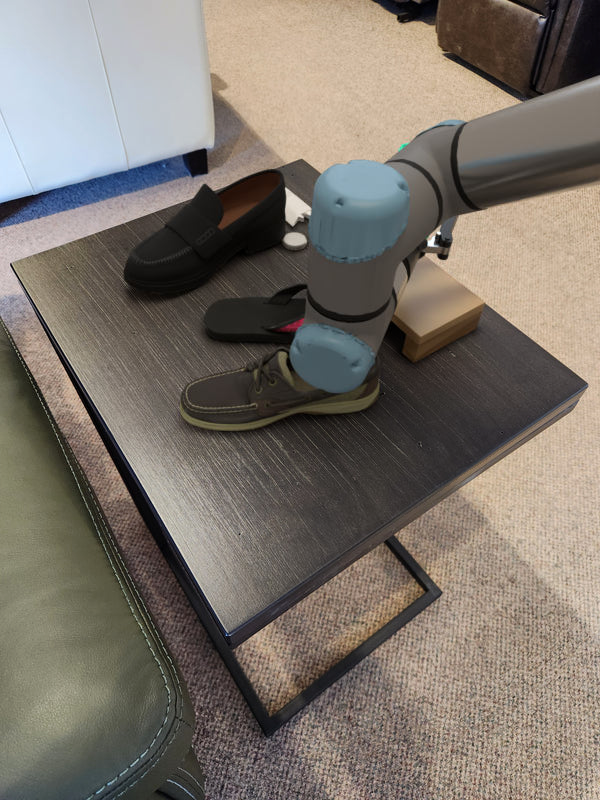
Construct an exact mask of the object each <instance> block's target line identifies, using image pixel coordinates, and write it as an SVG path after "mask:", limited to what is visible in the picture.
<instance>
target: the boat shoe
mask: <svg viewBox="0 0 600 800" xmlns="http://www.w3.org/2000/svg"><path fill="white" fill-rule="evenodd" d="M380 362H381V361H380V358H379V356H378V354H377V355H376V357H375V363H374V365H373V366H372V367H371V368H370V370H369V372H368V373H367V375H366V377H365V379H364V381H363V382H362V384H361V385H360V386H359V387H357V388H356V389H354V390H352V391H349V392H346V393H330V392H327V391H325V390H323V389H317V388H315V387H313V386H311V385H310V384H308V383H307V382H305V381H304V380H303V379H302V378H301V377H300V376H299V375H298V374H297V373H296V371H295V370H294V368H293V366H292V364H291V361H290V349H287V348H286V347H285V346H279V347H277V348H275V349H274V350H272V351H271V352H268V353H267V352H266V353H264V354H263V356H262V357H260V358H257V359H255V360H253V361H250V362H248V363H246V364H245V365H243V366H242V367H239V368H235V369H231V370H225V371H221V372H217V373H212V374H208V375H206V376H202V377H199V378H196V379H193V380H191V381H190V382H189V383H187V384H186V385H185V386H184V388H183V389H182V391H181V394H180V400H179V411H180V415H181V417H182V418H183V420H184V421H185V422H187V423H188V424H190V425H191V426H194V427H197V428H201V429H205V430H210V431H219V432H242V431H252V430H256V429H260V428H263V427H266V426H269V425H271V424H273V423H275V422H277V421H280V420H282V419H286V418H287V417H290V416H292V415H295V414H302V413H303V414H308V415H340V414H350V413H356V412H360V411H363V410H367V409H368V408H370V407H371V406H372V405H374V404H375V403H376V401H377V400H378V398H379V395H380V374H381V373H380V372H381V367H382V366H381V363H380Z"/></svg>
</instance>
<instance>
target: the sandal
mask: <svg viewBox="0 0 600 800" xmlns="http://www.w3.org/2000/svg"><path fill="white" fill-rule="evenodd" d="M307 286H308V283H305V282H304V283H303V282H302V283H301V282H300V283H296V284H293V285H290V286H287V287H284V288H281V289H279V290H278V291H276V292H275V293H273V294H272V295H271V296H243V297H228V298H220V299H218V300H216V301H213V302H212V303H211V304H210V305H209V306H208V307H207V309H206V311H205V315H204V324H205V327H206V328H205V329H206V331H207V333H208V335H210V337H212V338H213V339H215V340H219V341H225V342H266V343H267V342H268V343H269V342H270V343H282V344H291V345H292V343H293V340H294V338H295V332H296V330H298V328H299V327H300V326H301V325H302V324H303V321H304V318H305V311H306V297H295V296H296V295H297V294H299V293H300V292H302V291H304V290H307Z"/></svg>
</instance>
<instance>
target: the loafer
mask: <svg viewBox="0 0 600 800" xmlns="http://www.w3.org/2000/svg"><path fill="white" fill-rule="evenodd" d="M285 187H286V180H285V175H284V174H283V172H282V171H281V170H279V169H276V168H268V169H267V168H266V169H263V170H260V171H257V172H254V173H251V174H249V175H246V176H244V177H242V178H240V179H237V180H236V181H234V182H231V184H229V185H227V186H225V187H224V188H222V189H221V190H219V191H217V192H216V191H214V190H213V189H212V188H211V186H209V185H208V184H207V183H204V182H203V184H202V185H201V186H200V188H199V189H198V191H197V192H196V193H195V195H194V196H193V198H192V199H191V200H190V202H189V203H186V204H184V205H183V207H182V208H180V209H179V211H178V212H176V214H174V215H173V216H172V218H170V219H169V220H168V221H166V223H165V224H164V226H163V227H162V228H160V229H158V230H156V231H155V232H154V233H153V234H150V235H149V236H148V237H146V238H145V239H143V240H142V241H141V242H139V243H138V244H137V245H136V246H134V247H133V248H132V249H131V251H130V253H129V255H128V257H127V259H126V261H125V265H124V268H123V271H122V273H123V274H122V275H123V279H124V281H125V283H127V285H128V286H130V288H132V289H136V290H137V291H141V292H145V293H147V294H159V295H160V294H172V293H173V294H174V293H181V292H185V291H189V290H192V289H194V288H196V287H199V286H201V285H202V284H204V283H206V282H208V280H210V279H211V278H212V276H214V274H215V273H216V272H217V271H218V270H219V269H220V268H221V267H222V265H223V264H225V263H226V262H227V261H228V260H229V259H230V258H232V256H234V255H235V254H237V253H238V252H240V251H241V250H243V249H244V250H245V252H246V253H247V254H252V253H256V252H258V251H263V250H266V249H267V248H268V247H274V246H276V245H279V244H280V243H281V242H282V240H283V239H284V236H285V234H287V232H286V227H287V226H286V225H287V223H286V222H287V221H286V214H285V207H286V190H285ZM286 188H287V187H286Z"/></svg>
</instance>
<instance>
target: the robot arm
mask: <svg viewBox="0 0 600 800" xmlns="http://www.w3.org/2000/svg"><path fill="white" fill-rule="evenodd" d="M408 143H409V144H408V145H406V146H405V147H404V148H402V149H401V150H400V151H399V152H398V151H397V152H396V153H395V154H393V155H392V156H391V157H390V158H388V159H387V160H386V161H384V162H379V161H377V160H370V159H351V160H349V161H348V162H347V163H335V164H332V165H331V166H329V167H327V168H326V169H325V170H324V171H322V173H320V175H319V177H318V178H317V179H316V182H315V184H314V187H313V193H312V203H311V208H312V209H311V215H310V216H309V219H308V223H307V229H308V252H307V253H308V256H307V257H308V258H307V259H308V260H307V284H308V286H307V289H306V293H305V298H306V311H305V318H304V321H303V324H302V325H301V326H300V327H299V328H298V330H296V332H295V338H294V340H293V343H292V344H291V345H290V348H289V351H290V361H291V364H292V366H293V368H294V370H295V371H296V373H297V374H298V375H299V376H300V377H301V378H302V379H303V380H304V381H305V382H307V383H308V384H310V385H311V386H313V387H315V388H317V389H323V390H325V391H327V392H330V393H346V392H349V391H352V390H354V389H356V388H357V387H359V386H360V385H361V384H362V382H363V381H364V379H365V377H366V375H367V373H368V372H369V370H370V368H371V367H372V366H373V365H374V363H375V357H376V355H377V356H378V352H379V350H380V347H381V345H382V342H383V340H384V338H385V335H386V332H387V330H388V329H389V325H390V323H391V322H392V321H391V318H392V316H393V314H394V312H395V310H396V308H397V305H398V303H399V301H400V299H401V297H402V294H403V292H404V290H405V288H406V285H407V283H408V281H409V279H410V276H411V274H412V272H413V270H414V267H415V265H416V263H417V261H418V260H419V259H421V258H422V257H424V256H426V254H436V257H437V259H439V260H440V261H447V260H448V259H449V256H450V253H451V248H452V245H453V242H454V238H453V232H454V229H455V227H456V224H457V221H458V219H459V216H463V215H467V214H473V213H477V212H481V211H486V210H489V209H492V208H497V207H503V206H507V205H511V204H516V203H520V202H525V201H529V200H534V199H540V198H544V197H548V196H554V195H557V194H563V193H567V192H573V191H576V190H581V189H586V188H591V187H594V186H600V75H597V76H594V77H591V78H588V79H584V80H582V81H580V82H577V83H574V84H571V85H568V86H565V87H563V88H559V89H556V90H554V91H550V92H548V93H545V94H543V95H539V96H536V97H533V98H531V99H528V100H525V101H522V102H519V103H516V104H513V105H511V106H507V107H504V108H502V109H499V110H496V111H493V112H490V113H488V114H484V115H481V116H479V117H476V118H473V119H470V120H468V121H465V120H461V119H446V120H443V121H440V122H438V123H435V125H433V126H430V127H429V128H427V129H425V130H422V131H421V132H419V133H418V134H417V135H416V136H415V137H414V138H413V139H411V140H410V142H408ZM439 227H440V228H439ZM437 229H439V231H437V232H435V231H436V230H437ZM434 232H435V234H434V235H433V236H432V237H431V239H429V240H428V238H429V237H430V236H431V235H432V234H433V233H434ZM428 236H429V237H428ZM427 237H428V238H427ZM426 238H427V239H426Z"/></svg>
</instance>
